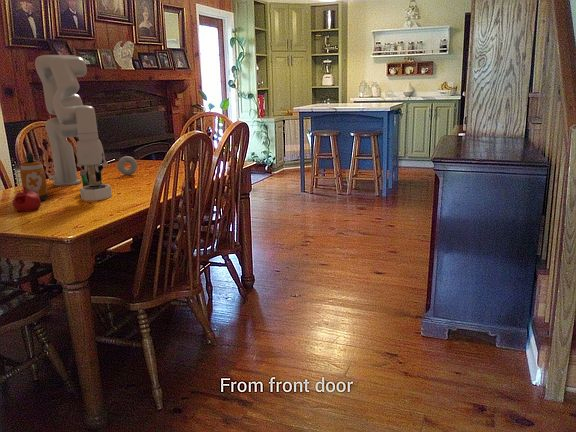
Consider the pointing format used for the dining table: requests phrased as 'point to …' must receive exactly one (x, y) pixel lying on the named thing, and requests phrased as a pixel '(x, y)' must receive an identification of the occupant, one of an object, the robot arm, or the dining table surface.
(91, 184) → the grey rectangular block
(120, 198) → the dining table surface
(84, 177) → the food container
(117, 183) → the dining table surface
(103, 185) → the hollow square tube
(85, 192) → the white octagonal tray
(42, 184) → the canister
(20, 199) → the pomegranate
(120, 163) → the donut
